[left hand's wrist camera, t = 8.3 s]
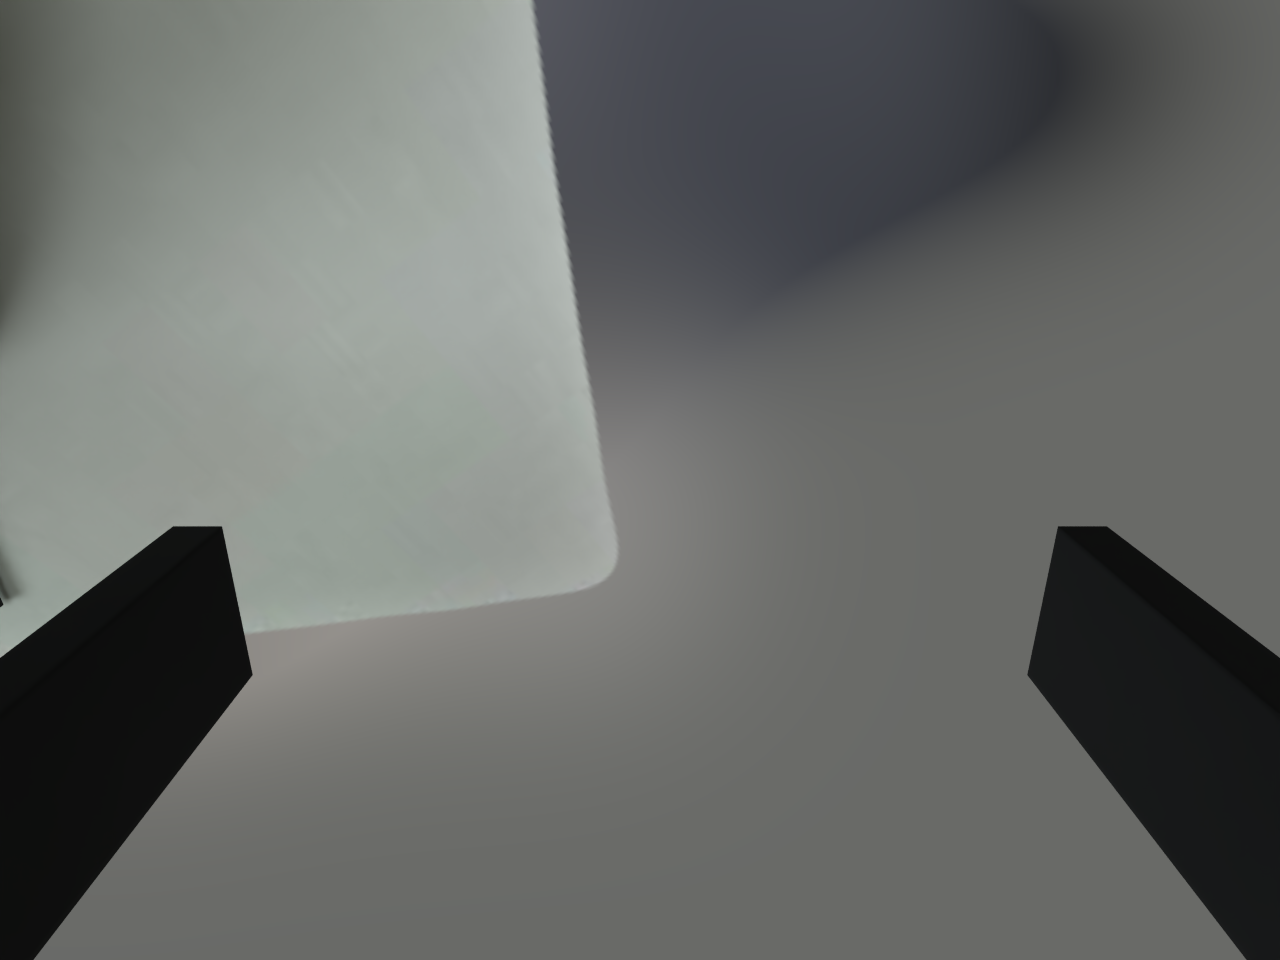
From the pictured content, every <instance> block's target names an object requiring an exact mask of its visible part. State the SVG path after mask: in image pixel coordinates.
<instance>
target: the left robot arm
mask: <svg viewBox="0 0 1280 960" xmlns="http://www.w3.org/2000/svg"><path fill="white" fill-rule="evenodd" d="M2 605H3V603H2V601H1V598H0V607H1V606H2ZM251 676H252V670H251V665H250V660H249V655H248V650H247V645H246V641H245V636H244V631H243V626H242V621H241V616H240V612H239V607H238V602H237V597H236V592H235V587H234V582H233V578H232V573H231V568H230V563H229V558H228V553H227V549H226V544H225V539H224V534H223V529H222V526H173V527H172V528H171V529H169V530H168V531H167V532H165V533H164V534H163V535H161V536H160V537H159V538H157V539H156V540H155V541H153V542H152V543H151V544H149V545H148V546H147V547H146V548H144V549H143V550H142V551H140V552H139V553H138V554H136V555H135V556H134V557H132V558H131V559H130V560H128V561H127V562H126V563H124V564H123V565H122V566H121V567H119V568H118V569H117V570H115V571H114V572H113V573H111V574H110V575H109V576H107V577H106V578H105V579H103V580H102V581H101V582H99V583H98V584H97V585H96V586H94V587H93V588H92V589H90V590H89V591H88V592H86V593H85V594H84V595H82V596H81V597H80V598H78V599H77V600H76V601H74V602H73V603H72V604H71V605H69V606H68V607H67V608H65V609H64V610H63V611H61V612H60V613H59V614H57V615H56V616H55V617H53V618H52V619H51V620H49V621H48V622H47V623H46V624H44V625H43V626H42V627H40V628H39V629H38V630H36V631H35V632H34V633H32V634H31V635H30V636H28V637H27V638H26V639H24V640H23V641H22V642H21V643H19V644H18V645H17V646H15V647H14V648H13V649H11V650H10V651H9V652H7V653H6V654H5V655H3V656H2V657H1V658H0V960H34V958H35V957H36V956H37V954H38V953H39V952H40V950H41V949H42V948H43V947H44V945H45V944H46V943H47V941H48V940H49V939H50V937H51V936H52V935H53V934H54V932H55V931H56V930H57V928H58V927H59V926H60V924H61V923H62V922H63V921H64V919H65V918H66V917H67V915H68V914H69V913H70V912H71V910H72V909H73V908H74V906H75V905H76V904H77V902H78V901H79V900H80V899H81V897H82V896H83V895H84V893H85V892H86V891H87V889H88V888H89V887H90V885H91V884H92V883H93V882H94V880H95V879H96V878H97V876H98V875H99V874H100V872H101V871H102V870H103V869H104V867H105V866H106V865H107V863H108V862H109V861H110V860H111V858H112V857H113V856H114V854H115V853H116V852H117V850H118V849H119V848H120V847H121V845H122V844H123V843H124V841H125V840H126V839H127V837H128V836H129V835H130V834H131V832H132V831H133V830H134V828H135V827H136V826H137V824H138V823H139V822H140V820H141V819H142V818H143V817H144V815H145V814H146V813H147V811H148V810H149V809H150V808H151V806H152V805H153V804H154V802H155V801H156V800H157V798H158V797H159V796H160V795H161V793H162V792H163V791H164V789H165V788H166V787H167V785H168V784H169V783H170V782H171V780H172V779H173V778H174V776H175V775H176V774H177V772H178V771H179V770H180V769H181V767H182V766H183V765H184V763H185V762H186V761H187V759H188V758H189V757H190V756H191V754H192V753H193V752H194V750H195V749H196V748H197V746H198V745H199V744H200V743H201V741H202V740H203V739H204V737H205V736H206V735H207V733H208V732H209V731H210V730H211V728H212V727H213V726H214V724H215V723H216V722H217V721H218V719H219V718H220V717H221V715H222V714H223V713H224V711H225V710H226V709H227V708H228V706H229V705H230V704H231V702H232V701H233V700H234V698H235V697H236V696H237V695H238V693H239V692H240V691H241V689H242V688H243V687H244V685H245V684H246V683H247V682H248V680H249V679H250V678H251ZM1028 676H1029V678H1030V679H1031V680H1032V682H1033V683H1034V684H1035V685H1036V687H1037V688H1038V689H1039V691H1040V692H1041V693H1042V695H1043V696H1044V697H1045V698H1046V700H1047V701H1048V702H1049V704H1050V705H1051V706H1052V707H1053V709H1054V710H1055V711H1056V713H1057V714H1058V715H1059V717H1060V718H1061V719H1062V720H1063V722H1064V723H1065V724H1066V726H1067V727H1068V728H1069V730H1070V731H1071V732H1072V734H1073V735H1074V736H1075V737H1076V739H1077V740H1078V741H1079V743H1080V744H1081V745H1082V747H1083V748H1084V749H1085V750H1086V752H1087V753H1088V754H1089V756H1090V757H1091V758H1092V759H1093V761H1094V762H1095V763H1096V765H1097V766H1098V767H1099V769H1100V770H1101V771H1102V772H1103V774H1104V775H1105V776H1106V778H1107V779H1108V780H1109V782H1110V783H1111V784H1112V785H1113V787H1114V788H1115V789H1116V791H1117V792H1118V793H1119V795H1120V796H1121V797H1122V798H1123V800H1124V801H1125V802H1126V804H1127V805H1128V806H1129V808H1130V809H1131V810H1132V811H1133V813H1134V814H1135V815H1136V817H1137V818H1138V819H1139V821H1140V822H1141V823H1142V824H1143V826H1144V827H1145V828H1146V830H1147V831H1148V832H1149V834H1150V835H1151V836H1152V837H1153V839H1154V840H1155V841H1156V843H1157V844H1158V845H1159V847H1160V848H1161V849H1162V850H1163V852H1164V853H1165V854H1166V856H1167V857H1168V858H1169V860H1170V861H1171V862H1172V863H1173V865H1174V866H1175V867H1176V869H1177V870H1178V871H1179V873H1180V874H1181V875H1182V876H1183V878H1184V879H1185V880H1186V882H1187V883H1188V884H1189V886H1190V887H1191V888H1192V889H1193V891H1194V892H1195V893H1196V895H1197V896H1198V897H1199V898H1200V900H1201V901H1202V902H1203V904H1204V905H1205V906H1206V908H1207V909H1208V910H1209V911H1210V913H1211V914H1212V915H1213V917H1214V918H1215V919H1216V921H1217V922H1218V923H1219V924H1220V926H1221V927H1222V928H1223V930H1224V931H1225V932H1226V934H1227V935H1228V936H1229V937H1230V939H1231V940H1232V941H1233V943H1234V944H1235V945H1236V947H1237V948H1238V949H1239V950H1240V952H1241V953H1242V954H1243V956H1244V957H1245V958H1246V959H1247V960H1280V658H1279V657H1278V656H1277V655H1275V654H1274V653H1273V652H1271V651H1270V650H1269V649H1267V648H1266V647H1265V646H1263V645H1262V644H1261V643H1259V642H1258V641H1257V640H1255V639H1254V638H1253V637H1251V636H1250V635H1249V634H1247V633H1246V632H1245V631H1244V630H1242V629H1241V628H1240V627H1238V626H1237V625H1236V624H1234V623H1233V622H1232V621H1231V620H1229V619H1228V618H1226V617H1225V616H1224V615H1223V614H1221V613H1220V612H1219V611H1217V610H1216V609H1215V608H1213V607H1212V606H1211V605H1209V604H1208V603H1207V602H1206V601H1204V600H1203V599H1202V598H1200V597H1199V596H1197V595H1196V594H1195V593H1194V592H1192V591H1191V590H1190V589H1188V588H1187V587H1186V586H1184V585H1183V584H1182V583H1181V582H1179V581H1178V580H1177V579H1175V578H1174V577H1173V576H1171V575H1170V574H1169V573H1167V572H1166V571H1165V570H1163V569H1162V568H1161V567H1159V566H1158V565H1157V564H1156V563H1154V562H1153V561H1152V560H1150V559H1149V558H1148V557H1146V556H1145V555H1144V554H1142V553H1141V552H1140V551H1138V550H1137V549H1136V548H1134V547H1133V546H1132V545H1131V544H1129V543H1128V542H1127V541H1125V540H1124V539H1123V538H1121V537H1120V536H1119V535H1117V534H1116V533H1115V532H1113V531H1112V530H1111V529H1109V528H1108V527H1106V526H1103V527H1102V526H1099V527H1098V526H1097V527H1095V526H1093V527H1092V526H1087V527H1086V526H1084V527H1083V526H1081V527H1079V526H1078V527H1077V526H1075V527H1073V526H1069V527H1068V526H1067V527H1065V526H1061V527H1060V526H1059V527H1058V529H1057V534H1056V539H1055V544H1054V549H1053V553H1052V558H1051V563H1050V568H1049V573H1048V578H1047V582H1046V587H1045V592H1044V597H1043V602H1042V607H1041V611H1040V616H1039V621H1038V626H1037V631H1036V636H1035V641H1034V646H1033V650H1032V655H1031V660H1030V665H1029V670H1028Z"/></svg>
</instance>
